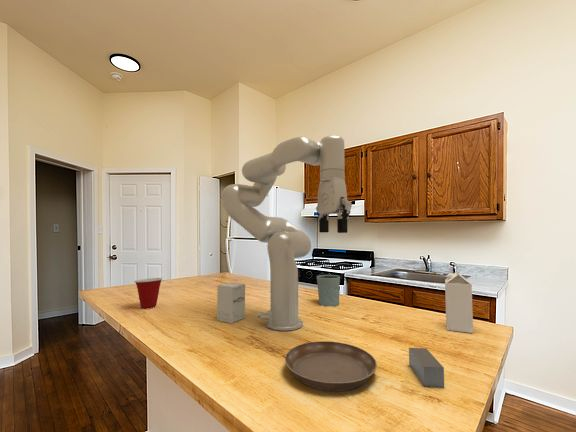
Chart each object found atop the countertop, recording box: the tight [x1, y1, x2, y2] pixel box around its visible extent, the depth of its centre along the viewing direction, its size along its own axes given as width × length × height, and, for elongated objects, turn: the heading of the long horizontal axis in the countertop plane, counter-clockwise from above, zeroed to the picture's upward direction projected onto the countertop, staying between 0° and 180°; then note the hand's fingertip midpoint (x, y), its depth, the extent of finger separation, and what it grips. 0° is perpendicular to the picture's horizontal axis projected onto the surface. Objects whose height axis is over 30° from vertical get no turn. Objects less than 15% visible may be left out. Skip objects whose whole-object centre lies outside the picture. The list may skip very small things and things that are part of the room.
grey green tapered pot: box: [316, 274, 341, 307], centre depth 130 cm, size 10×10×12 cm
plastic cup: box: [134, 277, 163, 310], centre depth 127 cm, size 11×11×12 cm
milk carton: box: [444, 268, 474, 334], centre depth 98 cm, size 7×7×19 cm
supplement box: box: [216, 282, 246, 324], centre depth 109 cm, size 7×7×13 cm
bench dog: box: [408, 347, 445, 388], centre depth 66 cm, size 4×10×4 cm, turn 174°
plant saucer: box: [284, 340, 378, 392], centre depth 68 cm, size 21×21×3 cm
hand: (332, 232), depth 92 cm, fingers open, 9 cm apart
